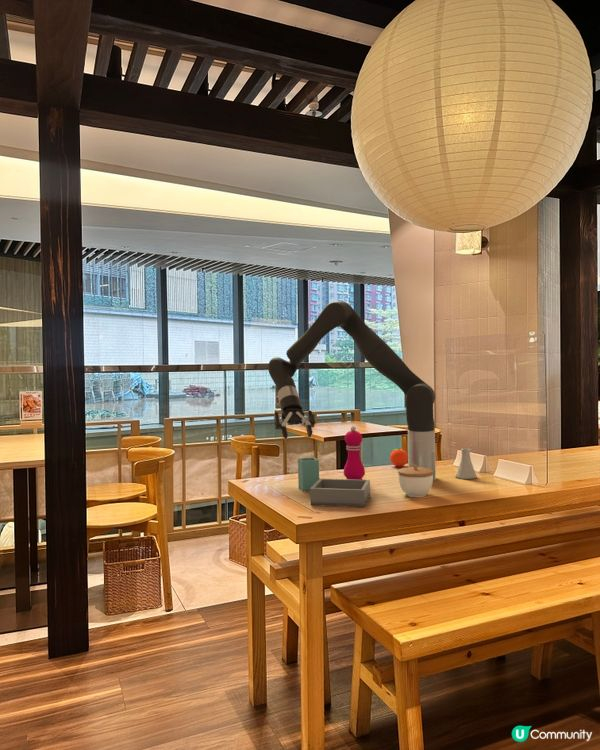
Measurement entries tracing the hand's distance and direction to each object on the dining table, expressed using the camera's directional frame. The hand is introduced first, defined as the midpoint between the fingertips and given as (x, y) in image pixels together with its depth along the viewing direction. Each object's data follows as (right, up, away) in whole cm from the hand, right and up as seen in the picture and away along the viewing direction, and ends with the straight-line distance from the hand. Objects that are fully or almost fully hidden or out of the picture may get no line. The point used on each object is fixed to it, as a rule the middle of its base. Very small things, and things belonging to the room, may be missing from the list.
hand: (298, 436), depth 208 cm
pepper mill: (+19, -16, -6) cm, 26 cm away
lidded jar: (+37, -16, -22) cm, 46 cm away
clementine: (+39, -14, +24) cm, 48 cm away
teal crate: (+4, -16, -11) cm, 20 cm away
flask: (+59, -15, +2) cm, 61 cm away
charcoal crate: (+13, -17, -26) cm, 34 cm away
